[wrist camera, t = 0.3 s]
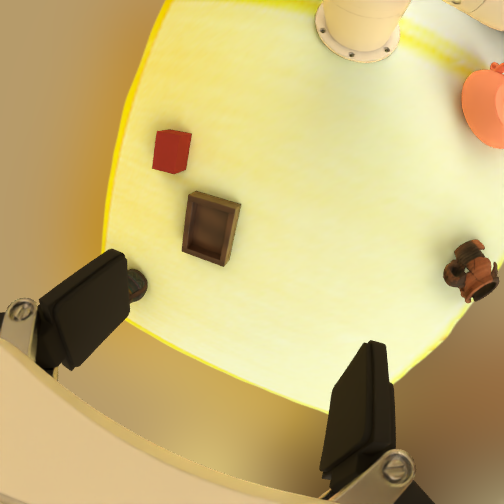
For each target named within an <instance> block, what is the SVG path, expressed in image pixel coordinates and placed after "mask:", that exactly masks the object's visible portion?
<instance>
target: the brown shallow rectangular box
mask: <svg viewBox="0 0 504 504" xmlns="http://www.w3.org/2000/svg"><path fill="white" fill-rule="evenodd" d="M240 208H241V204H238V203H235V202H232V201H228V200H225V199H222V198H218V197H215V196H212V195H208V194H205V193H201V192H198V191H195V192H193V193H191V194H189V195H188V202H187V210H186V218H185V226H184V235H183V244H182V252H185V253H187V254H190V255H193V256H196V257H198V258H201V259H204V260H206V261H209V262H212V263H215V264H217V265H220V266H223V267H224V266H225V265H226V264H227V262H228V261H229V259H230V255H231V250H232V245H233V240H234V236H235V231H236V226H237V221H238V217H239V212H240Z"/></svg>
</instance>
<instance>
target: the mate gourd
mask: <svg viewBox="0 0 504 504" xmlns="http://www.w3.org/2000/svg"><path fill="white" fill-rule="evenodd" d="M128 288H129V302H130V303H132V302H135V301H138V300H140V299H141V298H142V297H143V296H144V294H145V293H146V291H147V280H146V279H145V277H144V275H143V274H142V273H141V272H139V271H137V270H133V269H130V270H128Z"/></svg>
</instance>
